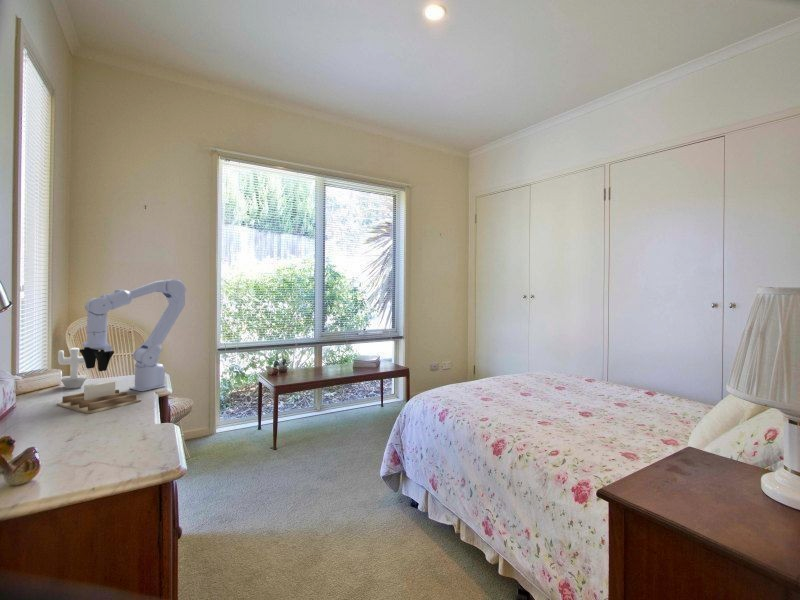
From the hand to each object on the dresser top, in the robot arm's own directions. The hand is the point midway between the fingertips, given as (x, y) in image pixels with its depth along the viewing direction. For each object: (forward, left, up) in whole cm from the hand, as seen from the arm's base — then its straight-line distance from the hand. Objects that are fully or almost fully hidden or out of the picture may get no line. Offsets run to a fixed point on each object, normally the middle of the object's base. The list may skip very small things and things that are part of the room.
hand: (96, 369), depth 138 cm
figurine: (-2, -19, -10) cm, 21 cm away
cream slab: (+4, +11, -9) cm, 14 cm away
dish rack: (+4, +11, -9) cm, 15 cm away
